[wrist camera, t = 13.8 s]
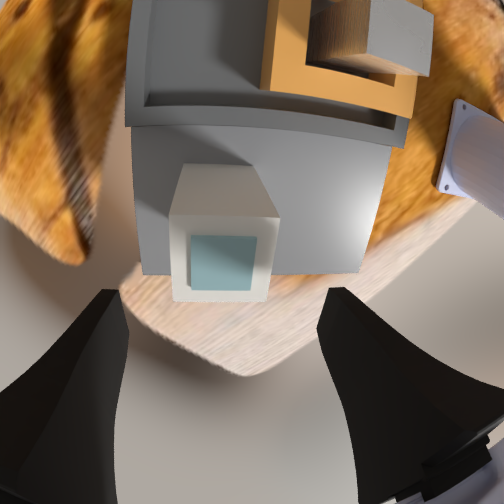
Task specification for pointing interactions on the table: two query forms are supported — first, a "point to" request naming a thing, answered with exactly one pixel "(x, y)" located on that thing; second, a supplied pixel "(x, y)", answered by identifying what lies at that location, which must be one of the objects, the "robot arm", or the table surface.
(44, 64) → the table surface
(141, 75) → the grey rimmed tray
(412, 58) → the grey rectangular block
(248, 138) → the lid
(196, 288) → the block
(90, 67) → the table surface
